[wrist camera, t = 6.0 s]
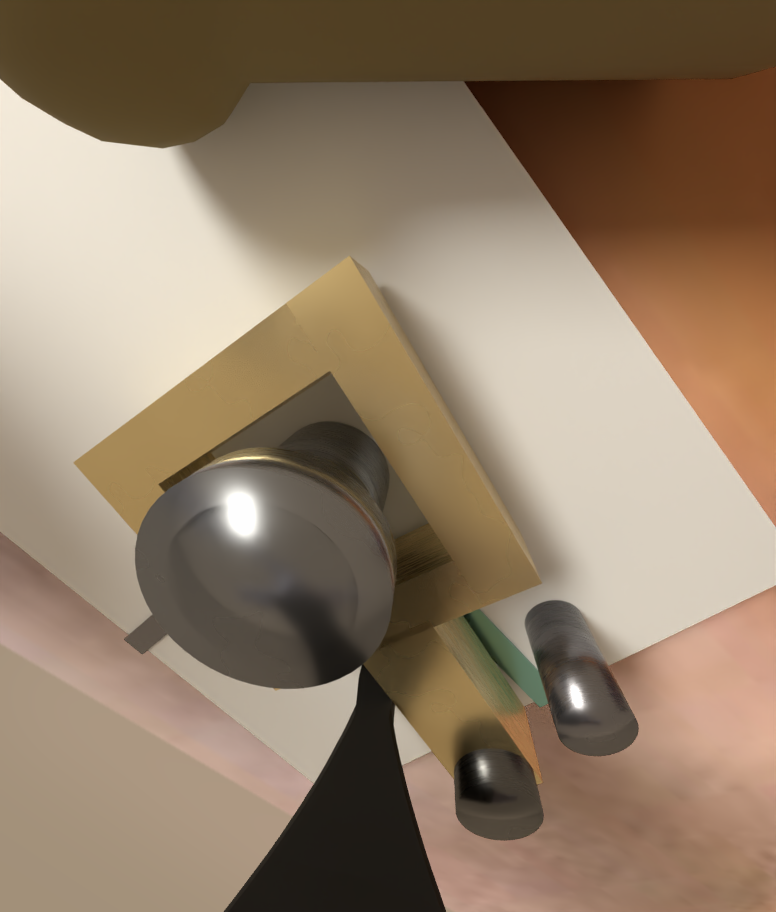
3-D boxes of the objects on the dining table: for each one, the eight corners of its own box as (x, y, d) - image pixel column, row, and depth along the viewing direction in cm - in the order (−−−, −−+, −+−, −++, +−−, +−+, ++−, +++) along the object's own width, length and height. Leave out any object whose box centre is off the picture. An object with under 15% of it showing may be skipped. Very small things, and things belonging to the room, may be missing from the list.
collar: (142, 435, 10) (34, 477, 7) (368, 271, 8) (338, 246, 5) (402, 753, 13) (394, 865, 10) (611, 688, 11) (669, 806, 8)
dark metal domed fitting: (87, 606, 12) (-88, 752, 8) (348, 350, 9) (274, 378, 5) (332, 803, 15) (293, 999, 10) (626, 663, 11) (750, 878, 7)
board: (-164, 355, 11) (-217, 358, 10) (140, -337, 6) (90, -452, 5) (339, 770, 15) (333, 798, 14) (772, 548, 10) (805, 570, 9)
